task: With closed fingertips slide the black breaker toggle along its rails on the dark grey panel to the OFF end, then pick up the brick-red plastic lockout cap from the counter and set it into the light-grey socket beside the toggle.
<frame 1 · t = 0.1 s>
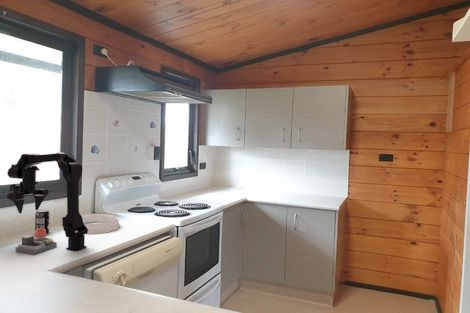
hand: (28, 211, 175), 15 cm above the countertop, fingers open, 9 cm apart
pale pink ring: (94, 228, 206), on the countertop
lockout cap: (40, 241, 176), on the countertop
breaker toggle: (27, 241, 162), point 4 cm above the countertop, slide at 0.0 cm
breaker panel: (36, 249, 164), on the countertop
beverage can: (42, 233, 191), on the countertop
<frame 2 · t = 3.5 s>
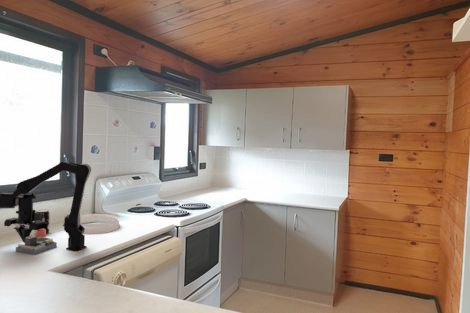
hand: (25, 242, 162), 3 cm above the countertop, fingers closed
breaker toggle: (30, 241, 161), point 4 cm above the countertop, slide at 1.7 cm, touching gripper
everything else where it was.
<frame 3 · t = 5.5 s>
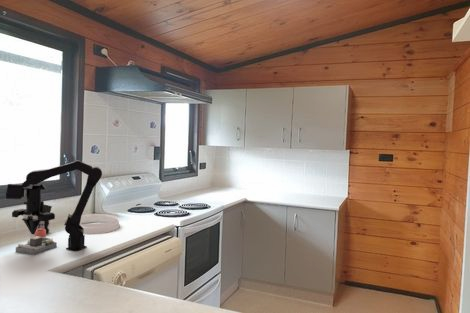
hand: (33, 234, 161), 8 cm above the countertop, fingers closed
breaker toggle: (35, 242, 160), point 4 cm above the countertop, slide at 4.5 cm
everything else where it was.
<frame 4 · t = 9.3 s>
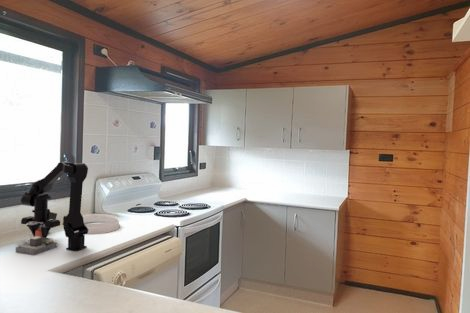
hand: (40, 239, 176), 1 cm above the countertop, fingers closed on lockout cap, 5 cm apart
lockout cap: (40, 241, 176), on the countertop, touching gripper
everything else where it was.
when the fingers open (4 cm above the countertop, at t = 12.8 s): lockout cap drops 1 cm, resting on breaker panel.
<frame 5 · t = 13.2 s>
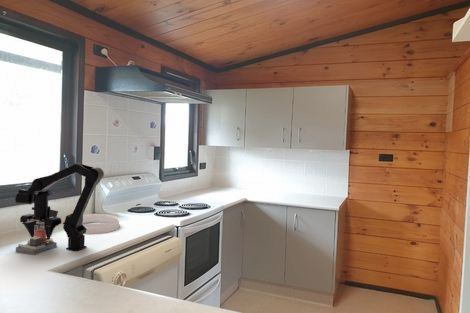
hand: (40, 238, 167), 4 cm above the countertop, fingers open, 9 cm apart
lockout cap: (40, 242, 167), point 2 cm above the countertop, touching breaker panel
everything else where it was.
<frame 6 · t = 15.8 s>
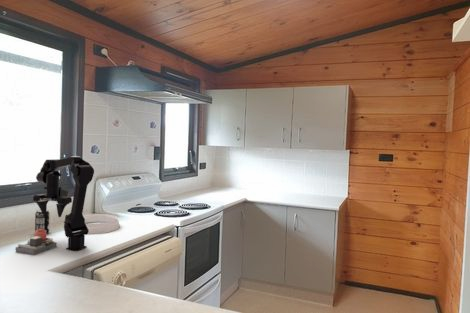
hand: (52, 216, 178), 12 cm above the countertop, fingers open, 9 cm apart
nothing on the countertop moved.
at the end: breaker toggle slide at 4.5 cm; lockout cap 0.0 cm from the target spot on the breaker panel, point 2.1 cm above the breaker panel's base; lockout cap tilted 2° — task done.
